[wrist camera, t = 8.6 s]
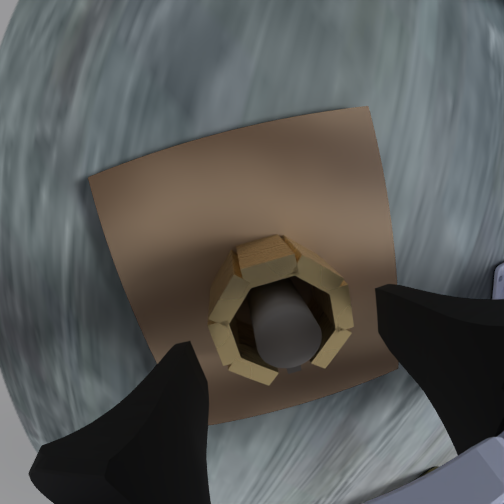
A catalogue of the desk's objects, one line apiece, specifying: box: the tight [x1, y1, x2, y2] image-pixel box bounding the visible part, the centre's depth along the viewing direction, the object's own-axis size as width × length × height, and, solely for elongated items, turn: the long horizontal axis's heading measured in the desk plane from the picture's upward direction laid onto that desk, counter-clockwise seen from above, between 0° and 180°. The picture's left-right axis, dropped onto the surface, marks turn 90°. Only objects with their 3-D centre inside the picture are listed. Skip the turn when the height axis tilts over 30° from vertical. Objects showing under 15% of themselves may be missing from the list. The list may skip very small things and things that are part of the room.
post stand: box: [88, 106, 398, 425], centre depth 13 cm, size 16×14×6 cm
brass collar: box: [207, 234, 354, 386], centre depth 13 cm, size 6×6×4 cm
